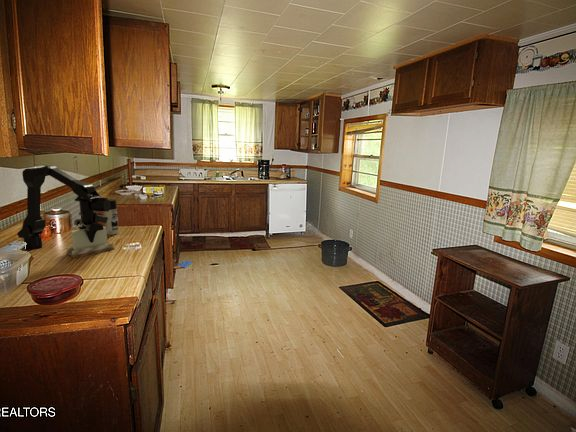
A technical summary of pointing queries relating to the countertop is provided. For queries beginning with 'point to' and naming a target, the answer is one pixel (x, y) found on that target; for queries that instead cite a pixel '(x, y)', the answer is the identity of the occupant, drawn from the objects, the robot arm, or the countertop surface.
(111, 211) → the spray can
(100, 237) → the pale green rectangular block
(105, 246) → the bottom track
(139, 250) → the countertop surface
